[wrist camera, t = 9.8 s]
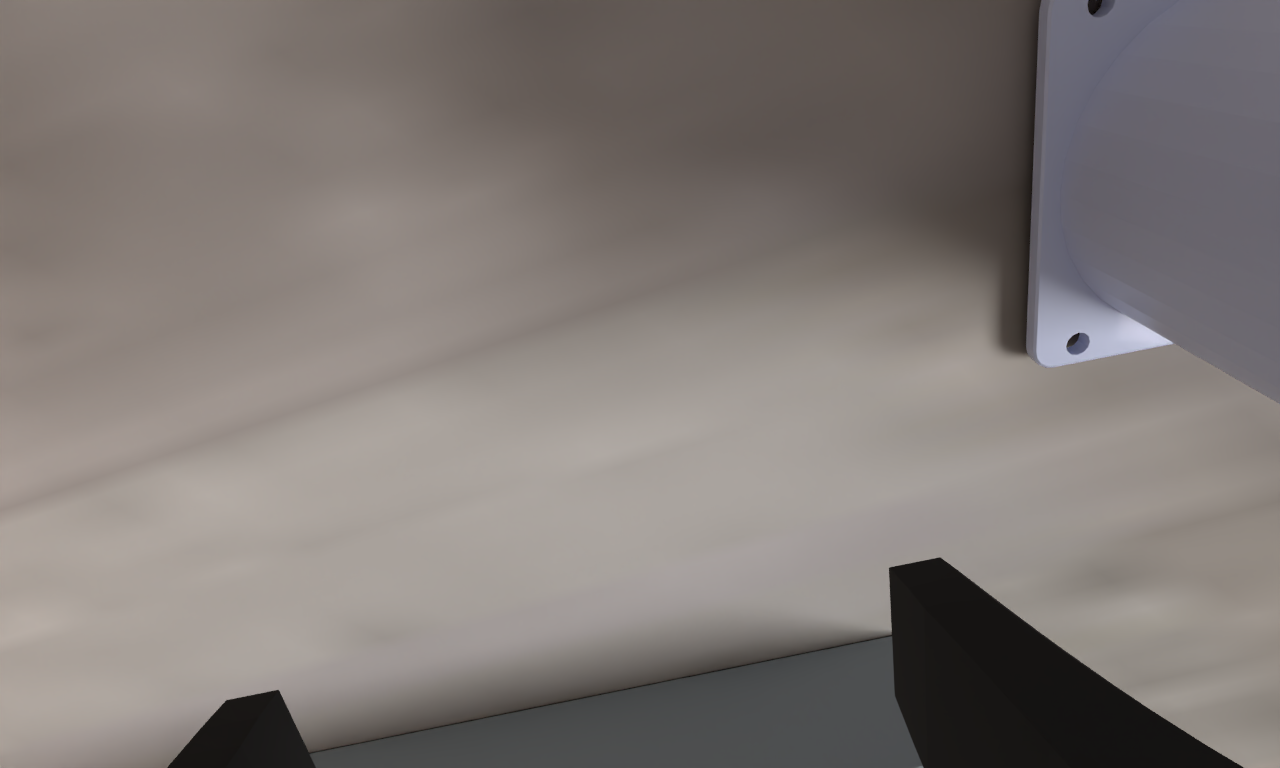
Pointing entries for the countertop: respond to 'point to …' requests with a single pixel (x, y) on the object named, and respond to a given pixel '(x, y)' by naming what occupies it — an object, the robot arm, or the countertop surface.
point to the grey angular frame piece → (685, 723)
